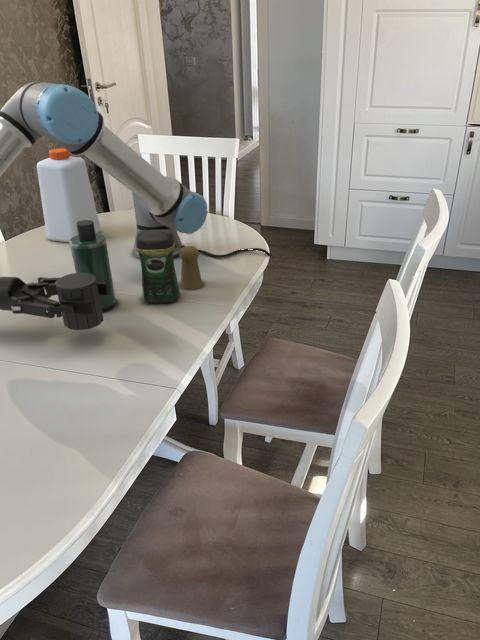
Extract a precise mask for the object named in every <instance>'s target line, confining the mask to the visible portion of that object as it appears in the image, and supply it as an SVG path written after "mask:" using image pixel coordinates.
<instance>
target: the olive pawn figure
mask: <svg viewBox="0 0 480 640" xmlns="http://www.w3.org/2000/svg"><path fill="white" fill-rule="evenodd" d="M184 246H185V247H183V248H181V249H180V252H179V255H178V256H179V258H180V259H181V267H180V268H181V270H180V288H181V289H184V290H187V291H188V290H189V291H190V290H197V289H200V288H201V287H202V286H203V282H202V276H201V271H200V266H199V262H198V258H199V257H200V255H199V253H200V252H198V249H199V248H197V247H196V246H195V245H194V246H193V245H184Z"/></svg>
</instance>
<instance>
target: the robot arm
mask: <svg viewBox="0 0 480 640" xmlns="http://www.w3.org/2000/svg"><path fill="white" fill-rule="evenodd" d="M42 137H46V138H49V139H51V140H52V141H54V142H55V143H56V144H58V145H60V146H61V147H62V149H66V150H67V151H69V154H71V155H73V156H75V157H79V156H82V155H83V156H85V158H87V159H89V160H90V161H91V162H92V163H94V164H95V165H96V166H98V167H99V168H100V169H101V170H103V171H104V172H105V173H107V174H108V175H109V176H111V177H112V178H113V179H114V180H116V181H117V182H119V184H121V185H123V186H124V187H125V188H127V189H128V190H129V191H130V192H131V195H132V201H133V209H134V216H135V223H136V233H135V238H134V242H133V254H134V256H135V257H137V258H138V259H140V256H139V254H138V252H137V250H136V236H137V233H138V232H139V230H166V229H170V230H171V231H172V234H173V238H174V242H175V248H174V251H173V258H175V257H177V256H180V255H179V252H180V249H181V248H183V247H185V246H186V245H183V241H182V240H181V238H180V236H179V233H181V234H186V235H192V234H195V233H197V232H198V231H199V230H200V229H201V228H202V227H203V225H204V224H205V223H206V219H207V216H208V204H207V203H208V202H207V200H206V199H205V197H204V196H203V195H201V194H200V193H199V192H197V191H191V190H190V189H188V188H187V187H186V186H185V185H184V184H183V183H181V182H180V181H179V180H178V179H177V178H176V177H172V176H171V177H170V176H168V175H163V174H162V173H161V172H160V171H159V170H157V169H156V168H155V166H153V165H151V163H150V162H148V160H146V159H145V158H143V156H141V155H140V154H139V153H137V152H136V151H135V150H134V149H133V148H132V147H130V146H129V144H127V143H126V142H124V141H123V139H121V138H120V137H119V136H118V135H116V134H115V133H114V132H113V131H112V130H110V128H108V127H107V126H106V125H105V119H104V116H103V115H102V113H100V111H98V110H97V107H96V105H95V103H94V101H93V100H92V98H90V96H89V95H88V94H87V93H85V91H83V90H81V89H79V88H77V87H75V86H72V85H69V84H65V83H52V82H48V81H47V82H46V81H41V80H39V81H37V80H36V81H30V82H29V83H27V84H24V85H23V86H21V87H20V88H18V89H17V91H16V92H15V93H14V94H13V95H12V96H11V97H10V98H9V99H8V100H7V101H6V103H5V104H3V106H2V107H1V109H0V178H1V177H2V175H4V173H5V172H6V171H7V169H8V168H9V167H10V166H11V164H12V163H13V162H14V161H15V159H16V158H17V157H18V155H20V153H21V152H22V151H23V150H24V149H25V148H32V147H33V145H34V144H35V143H36V142H37V141H38V140H39V139H41V138H42ZM178 232H179V233H178ZM197 249H198V252H199V253H200V254H203V255H206V256H208V257H212V258H216V259H217V258H221V259H222V258H223V259H224V258H228V257H231V256H233V255H236V254H238V253H245V252H261V251H262V253H264V252H265V253H264V254H265V255H267V256H268V257H271V258H272V256H273V255H272V254H271V253H270V252H269V251H267V250H266V249H264V248H260V247H250V248H243V249H244V250H241V249H242V248H240V250H239V249H236V250H233V251H231V252H228V253H225V254H214V253H211V252H209V251H206V250H203V249H199V248H197ZM248 249H253V250H248ZM256 250H258V251H256ZM268 252H269V253H268ZM59 278H60V277H42V276H40V277H37V282H30V283H29V282H28V283H26V282H25V281H23V279H21V278H20V277H17V276H0V311H7V312H8V311H10V312H12V313H13V314H15V315H16V314H24V315H30V316H34V317H42V318H47V319H53V318H55V317H56V318H61V317H62V318H63V316H62V313H80V314H92V313H93V308H92V303H91V301H77V300H61V301H60V303H61V304H60V303H59V301H58V300H55V299H52V298H51V297H53V296H58V294H57V290H56V281H57V280H58V279H59ZM97 286H98V291H99V295H108V294H109V293H108V287H107V283H100V282H97Z"/></svg>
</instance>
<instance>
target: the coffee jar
mask: <svg viewBox="0 0 480 640" xmlns="http://www.w3.org/2000/svg"><path fill="white" fill-rule="evenodd" d="M136 233H137V232H136ZM135 237H136V250H137V252H138V254H139V256H140V258H139V260H140V268H141V292H142V293H141V294H142V299H143V301H144V302H146V303H148V304H163V303H164V304H165V303H168V304H169V303H173V302H175V301H177V300H178V299H179V297H180V293H181V292H180V286H179V281H178V276H177V272H176V266H175V261H174V257H173V251H174V248H175V242H174V238H173V234H172V231H171V230H170V229H166V230H139V232H138V233H137V236H136V235H135Z"/></svg>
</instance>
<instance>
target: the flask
mask: <svg viewBox="0 0 480 640" xmlns="http://www.w3.org/2000/svg"><path fill="white" fill-rule="evenodd" d="M76 226H77V231H78V235H76V236H74V237H72V238H71V239H70V243H69V245H70V251H71V255H72V261H73V267H74V270H75V273H89V274H92V275H94V276H95V277H96V280H97V282H100V283H107V287H108V293H109V294H108V295H99V297H100V302H101V308H102V313H105V312H108V311H110V310H113V309H114V308H115V307H116V306H117V300H116V295H115V289H114V283H113V282H114V281H113V277H112V269H111V263H110V257H109V250H108V245H107V237H106V236H105V235H104V234H102V233H100V232H99V233H95V228H94V222H93V221H91V220H82V221H79V222H77V223H76Z"/></svg>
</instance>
